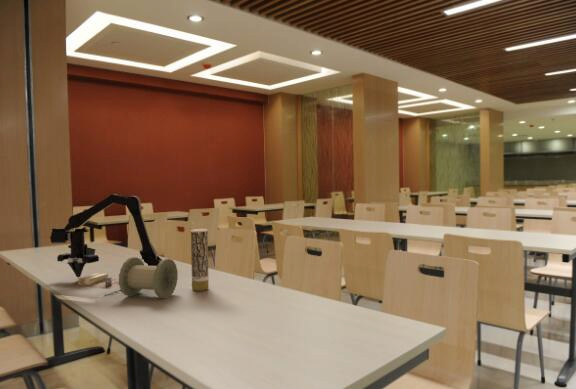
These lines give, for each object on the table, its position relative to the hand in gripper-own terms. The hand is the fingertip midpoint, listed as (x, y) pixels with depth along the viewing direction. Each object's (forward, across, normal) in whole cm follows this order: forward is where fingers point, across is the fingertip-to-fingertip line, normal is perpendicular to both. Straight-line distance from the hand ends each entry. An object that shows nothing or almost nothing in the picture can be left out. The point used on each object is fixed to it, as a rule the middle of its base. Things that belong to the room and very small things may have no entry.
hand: (78, 277), depth 191 cm
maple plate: (+1, -8, 0) cm, 9 cm away
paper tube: (+3, -58, -7) cm, 59 cm away
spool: (+3, -44, +8) cm, 45 cm away
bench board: (+3, -14, 0) cm, 14 cm away
